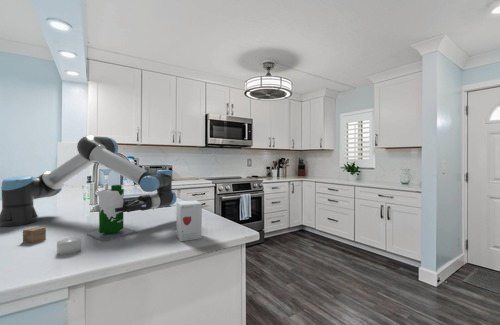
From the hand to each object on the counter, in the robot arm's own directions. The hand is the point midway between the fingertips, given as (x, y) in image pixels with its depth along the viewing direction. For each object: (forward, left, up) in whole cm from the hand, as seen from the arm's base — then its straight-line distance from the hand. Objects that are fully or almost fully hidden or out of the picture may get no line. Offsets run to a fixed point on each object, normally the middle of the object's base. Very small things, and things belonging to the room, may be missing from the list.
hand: (100, 210), depth 105 cm
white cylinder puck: (+7, -14, -12) cm, 20 cm away
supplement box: (+31, +21, -12) cm, 39 cm away
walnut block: (-17, -17, -12) cm, 27 cm away
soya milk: (0, +5, -10) cm, 11 cm away
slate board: (0, +5, -11) cm, 12 cm away
